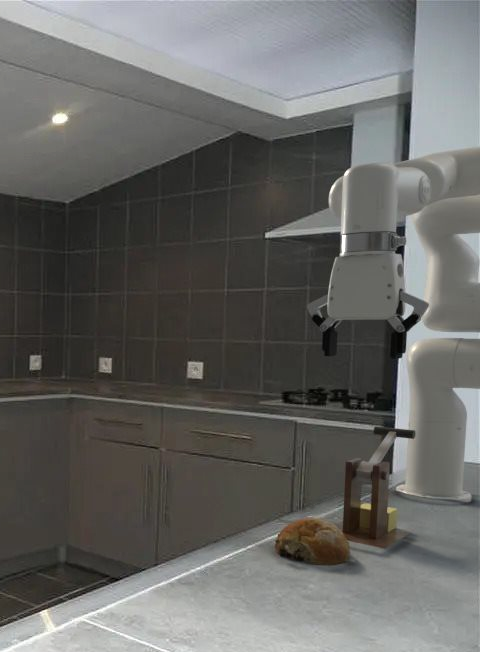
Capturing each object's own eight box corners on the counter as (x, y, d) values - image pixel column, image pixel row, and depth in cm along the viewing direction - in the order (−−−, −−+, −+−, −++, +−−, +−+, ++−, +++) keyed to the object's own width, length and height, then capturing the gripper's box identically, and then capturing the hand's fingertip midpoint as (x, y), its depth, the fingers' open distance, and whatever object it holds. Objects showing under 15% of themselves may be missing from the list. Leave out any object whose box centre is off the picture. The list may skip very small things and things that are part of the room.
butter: (364, 521, 121) (365, 502, 121) (396, 527, 118) (397, 508, 117) (354, 525, 119) (355, 507, 119) (388, 532, 115) (389, 513, 115)
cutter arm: (377, 434, 124) (375, 422, 123) (416, 438, 120) (414, 426, 119) (344, 480, 116) (343, 468, 115) (385, 487, 111) (383, 474, 111)
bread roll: (349, 596, 101) (377, 546, 100) (284, 565, 101) (311, 515, 100) (317, 571, 111) (341, 526, 110) (258, 543, 111) (282, 498, 110)
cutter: (345, 526, 123) (349, 452, 122) (411, 539, 115) (415, 461, 114) (316, 540, 115) (319, 462, 114) (384, 556, 107) (388, 472, 106)
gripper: (439, 243, 107) (433, 358, 108) (320, 251, 120) (316, 354, 121) (422, 240, 102) (416, 360, 104) (300, 249, 115) (296, 356, 116)
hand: (362, 357), depth 112 cm, fingers open, 9 cm apart
